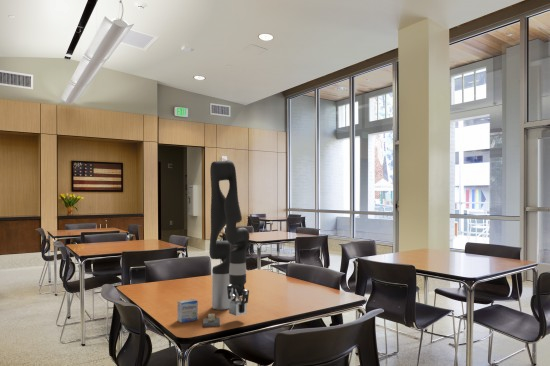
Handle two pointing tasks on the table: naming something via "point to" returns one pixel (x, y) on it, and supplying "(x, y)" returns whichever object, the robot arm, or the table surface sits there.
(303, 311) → the table surface
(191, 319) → the medicine box
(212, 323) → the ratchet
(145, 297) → the table surface
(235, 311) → the socket
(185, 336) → the table surface
